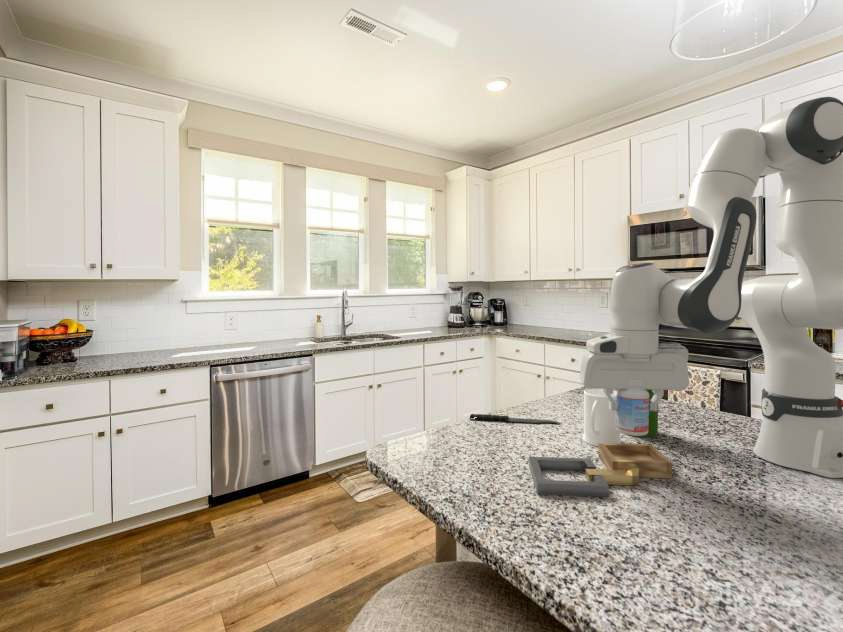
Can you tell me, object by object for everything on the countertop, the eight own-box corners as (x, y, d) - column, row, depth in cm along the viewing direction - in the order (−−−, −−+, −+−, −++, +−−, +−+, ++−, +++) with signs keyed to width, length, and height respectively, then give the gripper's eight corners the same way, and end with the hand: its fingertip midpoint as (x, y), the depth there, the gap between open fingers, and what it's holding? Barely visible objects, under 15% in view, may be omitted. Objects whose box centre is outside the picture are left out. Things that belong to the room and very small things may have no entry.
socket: (590, 467, 88) (590, 458, 88) (608, 496, 76) (608, 486, 75) (528, 466, 89) (528, 456, 89) (537, 494, 77) (537, 483, 77)
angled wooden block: (633, 479, 82) (633, 463, 82) (638, 485, 80) (638, 468, 79) (585, 477, 83) (585, 461, 83) (588, 483, 81) (588, 467, 81)
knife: (561, 417, 119) (562, 422, 114) (561, 422, 119) (562, 428, 114) (471, 412, 126) (469, 417, 121) (471, 417, 126) (469, 422, 121)
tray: (651, 457, 92) (651, 444, 92) (672, 478, 82) (672, 463, 82) (598, 456, 94) (598, 443, 93) (612, 476, 84) (612, 461, 84)
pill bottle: (641, 439, 83) (642, 382, 83) (610, 431, 88) (611, 377, 87) (653, 432, 87) (654, 378, 87) (622, 425, 92) (624, 373, 91)
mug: (607, 454, 95) (608, 401, 94) (571, 445, 100) (570, 395, 100) (626, 440, 103) (626, 391, 102) (591, 432, 109) (591, 386, 108)
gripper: (680, 341, 88) (679, 407, 89) (578, 341, 91) (577, 404, 92) (696, 345, 82) (694, 415, 83) (586, 344, 85) (585, 413, 85)
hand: (632, 410), depth 87 cm, fingers closed on pill bottle, 6 cm apart
